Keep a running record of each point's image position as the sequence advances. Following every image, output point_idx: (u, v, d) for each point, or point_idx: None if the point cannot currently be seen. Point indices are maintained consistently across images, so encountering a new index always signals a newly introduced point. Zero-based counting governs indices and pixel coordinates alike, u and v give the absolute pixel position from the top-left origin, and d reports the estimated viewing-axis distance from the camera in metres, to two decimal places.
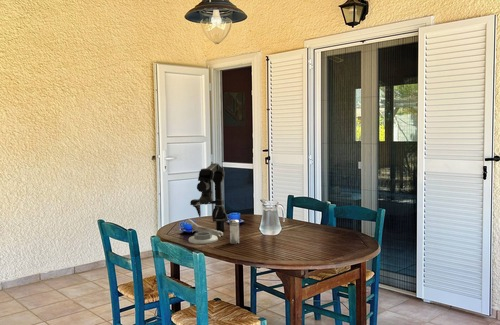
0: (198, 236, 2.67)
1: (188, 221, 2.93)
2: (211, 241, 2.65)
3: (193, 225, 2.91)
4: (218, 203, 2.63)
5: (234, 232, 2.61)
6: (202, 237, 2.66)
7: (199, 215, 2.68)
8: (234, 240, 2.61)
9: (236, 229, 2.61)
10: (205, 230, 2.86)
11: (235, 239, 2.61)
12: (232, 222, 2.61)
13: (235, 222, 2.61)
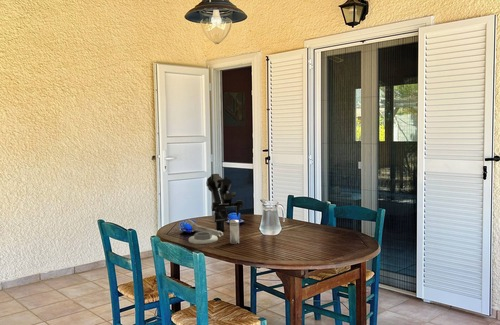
0: (198, 236, 2.67)
1: (188, 221, 2.93)
2: (211, 241, 2.65)
3: (193, 225, 2.91)
4: (240, 201, 2.76)
5: (234, 232, 2.61)
6: (202, 237, 2.66)
7: (222, 215, 2.69)
8: (234, 240, 2.61)
9: (236, 229, 2.61)
10: (205, 230, 2.86)
11: (235, 239, 2.61)
12: (232, 222, 2.61)
13: (235, 222, 2.61)
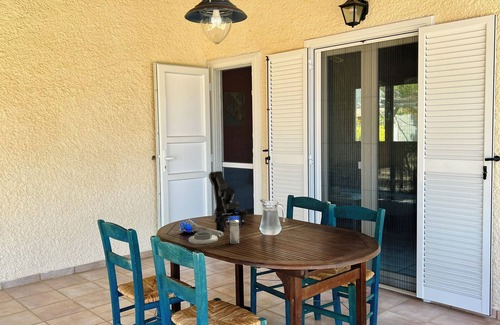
0: (198, 236, 2.67)
1: (188, 221, 2.93)
2: (211, 241, 2.65)
3: (193, 225, 2.91)
4: (244, 211, 2.70)
5: (234, 232, 2.61)
6: (202, 237, 2.66)
7: (225, 225, 2.63)
8: (234, 240, 2.61)
9: (236, 229, 2.61)
10: (205, 230, 2.86)
11: (235, 239, 2.61)
12: (232, 222, 2.61)
13: (235, 222, 2.61)
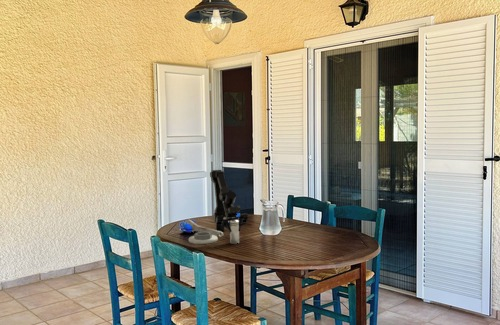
0: (198, 236, 2.67)
1: (188, 221, 2.93)
2: (211, 241, 2.65)
3: (193, 225, 2.91)
4: (245, 215, 2.68)
5: (234, 232, 2.61)
6: (202, 237, 2.66)
7: (230, 229, 2.62)
8: (234, 240, 2.61)
9: (236, 229, 2.61)
10: (205, 230, 2.86)
11: (235, 239, 2.61)
12: (232, 222, 2.61)
13: (235, 222, 2.61)
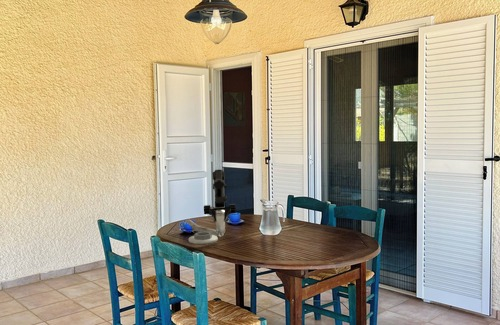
0: (198, 236, 2.67)
1: (188, 221, 2.92)
2: (211, 241, 2.65)
3: (193, 225, 2.91)
4: (232, 205, 2.67)
5: (219, 221, 2.62)
6: (202, 237, 2.66)
7: (215, 219, 2.63)
8: (219, 229, 2.63)
9: (221, 219, 2.62)
10: (205, 230, 2.86)
11: (220, 229, 2.63)
12: (217, 212, 2.62)
13: (220, 212, 2.62)
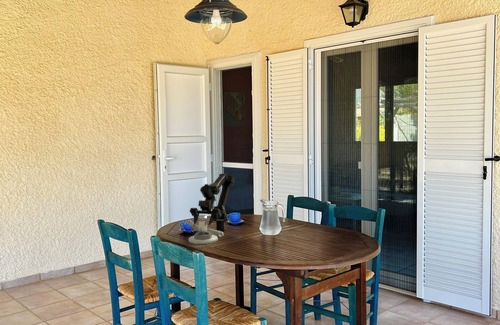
0: (198, 236, 2.67)
1: (188, 221, 2.92)
2: (211, 241, 2.65)
3: (193, 225, 2.90)
4: (215, 210, 2.70)
5: (200, 227, 2.69)
6: (202, 237, 2.66)
7: (194, 222, 2.71)
8: None
9: (201, 225, 2.68)
10: None
11: (200, 234, 2.69)
12: (198, 217, 2.69)
13: (200, 218, 2.68)
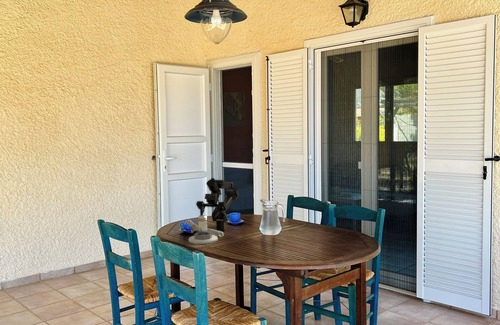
0: (198, 236, 2.67)
1: (188, 221, 2.92)
2: (211, 241, 2.65)
3: (193, 225, 2.90)
4: (221, 203, 2.78)
5: (200, 227, 2.69)
6: (202, 237, 2.66)
7: (200, 214, 2.79)
8: None
9: (201, 225, 2.68)
10: None
11: (200, 234, 2.69)
12: (198, 217, 2.69)
13: (200, 218, 2.68)
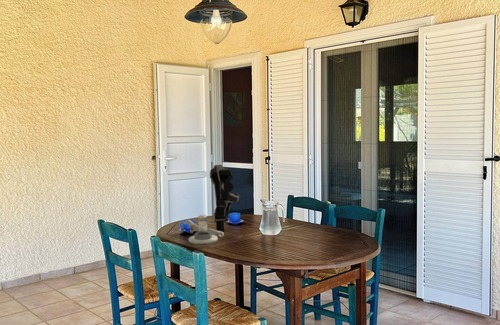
0: (198, 236, 2.67)
1: (187, 222, 2.92)
2: (211, 241, 2.65)
3: (193, 225, 2.90)
4: None
5: (200, 227, 2.69)
6: (202, 237, 2.66)
7: (224, 215, 2.74)
8: None
9: (201, 225, 2.68)
10: None
11: (200, 234, 2.69)
12: (198, 217, 2.69)
13: (200, 218, 2.68)
